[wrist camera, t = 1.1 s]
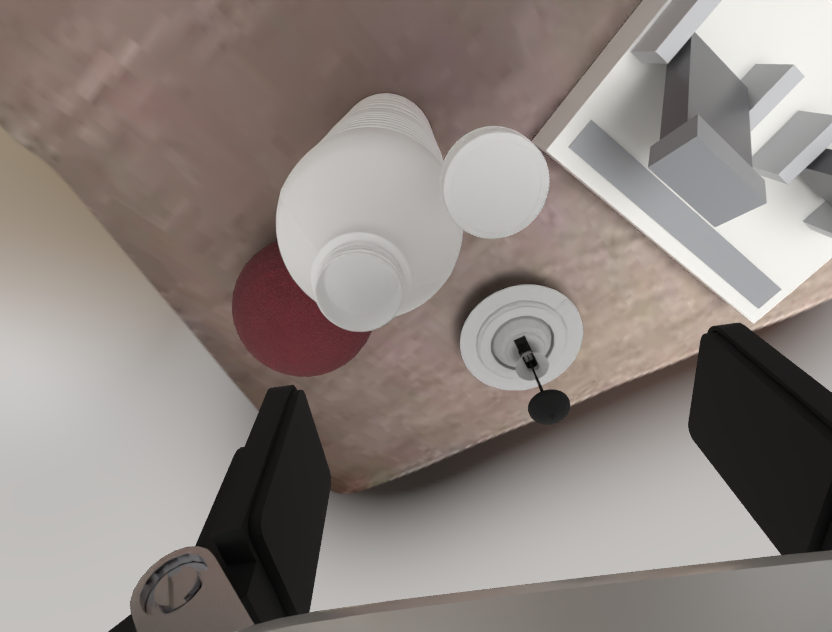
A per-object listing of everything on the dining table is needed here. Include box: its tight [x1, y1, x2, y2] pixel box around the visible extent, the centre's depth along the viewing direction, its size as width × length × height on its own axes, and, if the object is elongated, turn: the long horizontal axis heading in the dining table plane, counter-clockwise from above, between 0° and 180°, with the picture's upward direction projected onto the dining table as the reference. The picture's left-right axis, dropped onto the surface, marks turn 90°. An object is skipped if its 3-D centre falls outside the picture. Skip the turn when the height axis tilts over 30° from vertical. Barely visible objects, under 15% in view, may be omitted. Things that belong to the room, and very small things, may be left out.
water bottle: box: [276, 93, 550, 332], centre depth 23 cm, size 9×6×25 cm
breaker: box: [648, 32, 767, 227], centre depth 25 cm, size 2×5×11 cm
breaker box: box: [532, 0, 832, 323], centre depth 31 cm, size 18×22×7 cm
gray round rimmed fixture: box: [460, 284, 583, 425], centre depth 36 cm, size 12×10×10 cm
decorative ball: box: [232, 241, 371, 377], centre depth 35 cm, size 10×10×10 cm
